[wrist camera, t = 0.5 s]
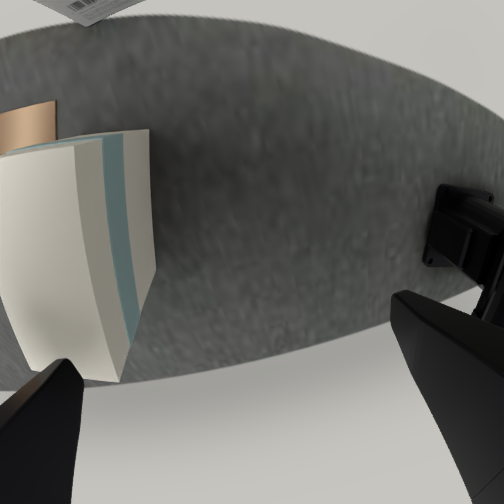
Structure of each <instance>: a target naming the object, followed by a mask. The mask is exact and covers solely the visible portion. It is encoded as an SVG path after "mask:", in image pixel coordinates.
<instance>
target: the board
mask: <svg viewBox="0 0 504 504" xmlns="http://www.w3.org/2000/svg"><path fill="white" fill-rule="evenodd" d="M56 140H57V126H56V100H55V101H50V102H45V103H41V104H37V105H32V106H28V107H24V108H20V109H17V110H13V111H9V112H6V113H2V114H0V155H3V154H6V152H8V151H12V150H16V149H19V148H23V147H27V146H31V145H35V144H40V143H46V142H52V141H56Z"/></svg>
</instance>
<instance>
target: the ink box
mask: <svg viewBox="0 0 504 504" xmlns="http://www.w3.org/2000/svg"><path fill="white" fill-rule="evenodd" d="M34 1H36V2H38V3H41V4H43V5H45V6H47V7H48V8H51V9H53V10H55V11H57V12H59V13H61V14H63V15H65V16H67V17H68V18H70V19H72V20H74V21H76V22H78V23H80V24H81V25H83V26H85V27H88V26H90V25H92V24H94V23H96V22H98V21H100V20H102V19H104V18H106V17H108V16H110V15H112V14H114V13H116V12H118V11H121V10H123V9H125V8H128V7H130V6H132V5H135V4H137V3H139V2H142V1H144V0H34Z"/></svg>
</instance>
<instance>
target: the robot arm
mask: <svg viewBox="0 0 504 504" xmlns="http://www.w3.org/2000/svg"><path fill="white" fill-rule="evenodd" d="M444 190H445V193H444ZM493 201H494V195H493V194H492V193H490V192H486V191H481V190H476V189H470V188H465V187H459V186H453V185H447V184H442V185H440V187H439V189H438V194H437V199H436V205H435V210H434V215H433V219H432V224H431V229H430V233H429V237H428V242H427V246H426V250H425V254H424V257H423V263H424V264H425V265H426V266H427V267H447V266H454V267H456V268H457V269H458V270H459V271H461V272H462V273H463V274H464V275H465V276H467V277H468V278H469V279H470V280H471V281H473V282H474V283H475V284H476V285H477V286H479V287H480V288H481V289H482V290H483V291H482V293H481V296H480V298H479V301H478V303H477V306H476V308H475V309H474V310H473V312H472V314H471V315H469V314H467V313H464V312H462V311H459V310H456V309H454V308H452V307H449V306H447V305H444V304H442V303H439V302H437V301H434V300H432V299H429V298H427V297H424V296H422V295H419V294H417V293H414V292H412V291H409V290H403V291H400V292H396V293H394V294H393V295H392V297H391V313H390V322H391V326H392V329H393V331H394V334H395V336H396V339H397V341H398V343H399V346H400V348H401V351H402V353H403V355H404V358H405V360H406V363H407V365H408V368H409V370H410V372H411V374H412V376H413V379H414V381H415V382H416V384H417V386H418V388H419V390H420V392H421V394H422V396H423V398H424V399H425V401H426V403H427V405H428V407H429V409H430V411H431V413H432V415H433V417H434V419H435V421H436V423H437V425H438V427H439V429H440V431H441V433H442V435H443V437H444V440H445V441H446V444H447V446H448V448H449V450H450V452H451V454H452V457H453V459H454V461H455V463H456V466H457V468H458V470H459V472H460V475H461V477H462V479H463V481H464V484H465V486H466V488H467V491H468V493H469V496H470V498H471V499H472V500H471V501H472V504H504V210H503V209H501V208H499V207H497V206H495V205H493ZM429 259H430V260H429ZM428 260H429V261H428ZM83 392H84V380H83V377H82V376H81V374H80V373H79V372H78V370H77V369H76V367H75V366H74V364H73V363H72V362H71V360H69V359H68V358H61V359H56V360H55V361H53V362H52V363H51V364H50V365H49V366H47V367H46V368H45V369H44V370H42V371H41V372H40V373H39V374H37V375H36V376H35V377H34V378H33V379H31V380H30V381H29V382H28V383H26V384H25V385H24V386H23V387H22V388H20V389H19V390H18V391H17V392H16V393H14V394H13V395H12V396H11V397H10V398H9V399H7V400H6V401H5V402H4V403H3V404H2V405H0V504H71V497H72V486H73V476H74V467H75V460H76V452H77V446H78V439H79V432H80V424H81V413H82V412H81V411H82V402H83Z"/></svg>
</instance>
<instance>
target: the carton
mask: <svg viewBox="0 0 504 504" xmlns="http://www.w3.org/2000/svg"><path fill="white" fill-rule="evenodd" d="M155 272H156V261H155V250H154V239H153V225H152V210H151V191H150V162H149V129H144V130H129V131H117V132H107V133H97V134H88V135H80V136H75V137H70V138H65V139H61V140H56V141H52V142H46V143H40V144H35V145H31V146H27V147H23V148H19V149H16V150H12V151H8V152H6V154H3V155H0V296H1V299H2V302H3V305H4V307H5V310H6V313H7V315H8V318H9V321H10V323H11V326H12V328H13V331H14V333H15V335H16V338H17V340H18V342H19V345H20V347H21V349H22V351H23V353H24V355H25V358H26V360H27V362H28V364H29V366H30V368H31V370H35V371H40V372H41V371H42V370H44V369H45V368H46V367H47V366H49V365H50V364H51V363H52V362H53V361H55V360H56V359H61V358H68V359H69V360H71V362H72V363H73V364H74V366H75V367H76V369H77V370H78V372H79V373H80V374H81V376H82V377H83V378H84V379H92V380H100V381H110V382H119V381H120V378H121V374H122V371H123V368H124V364H125V361H126V358H127V354H128V351H129V348H130V347H131V346H132V343H133V340H134V337H135V333H136V330H137V327H138V324H139V321H140V318H141V316H140V314H141V311H142V308H143V305H144V302H145V299H146V297H147V294H148V291H149V288H150V285H151V283H152V280H153V277H154V274H155Z"/></svg>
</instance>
